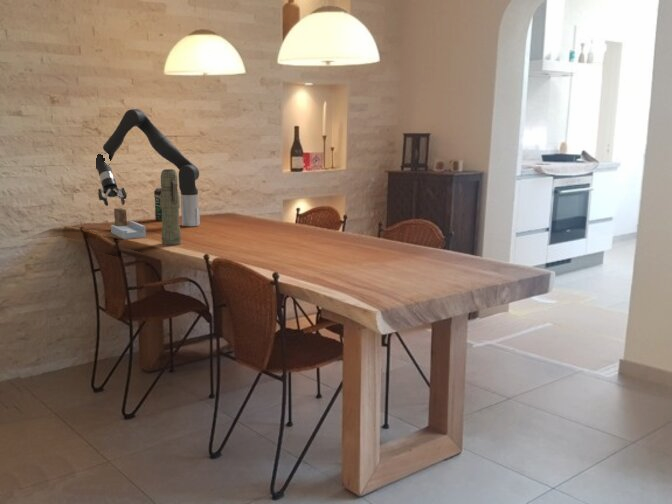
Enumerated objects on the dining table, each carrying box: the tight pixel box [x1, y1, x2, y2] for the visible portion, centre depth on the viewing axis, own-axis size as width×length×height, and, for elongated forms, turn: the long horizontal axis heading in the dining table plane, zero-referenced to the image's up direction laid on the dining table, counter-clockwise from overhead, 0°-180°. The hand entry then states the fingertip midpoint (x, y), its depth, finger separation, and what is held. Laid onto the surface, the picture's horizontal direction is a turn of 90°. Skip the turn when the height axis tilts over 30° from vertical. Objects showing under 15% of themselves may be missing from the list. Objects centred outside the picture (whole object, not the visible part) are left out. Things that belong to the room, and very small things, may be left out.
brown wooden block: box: [113, 207, 128, 227], centre depth 358 cm, size 4×8×11 cm, turn 34°
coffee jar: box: [154, 187, 162, 222], centre depth 391 cm, size 10×8×19 cm
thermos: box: [160, 168, 182, 247], centre depth 317 cm, size 9×12×35 cm
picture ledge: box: [110, 220, 147, 240], centre depth 343 cm, size 11×22×6 cm, turn 34°
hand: (115, 204), depth 363 cm, fingers open, 8 cm apart
